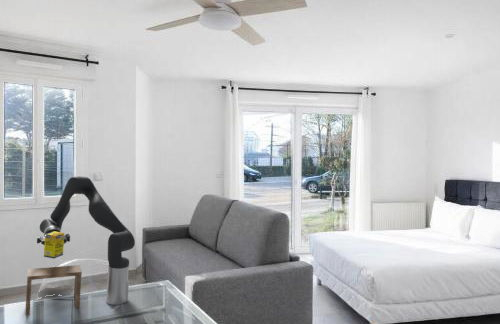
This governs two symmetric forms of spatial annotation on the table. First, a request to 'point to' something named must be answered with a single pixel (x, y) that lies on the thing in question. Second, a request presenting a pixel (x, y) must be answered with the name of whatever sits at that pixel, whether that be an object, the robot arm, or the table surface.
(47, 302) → the table surface
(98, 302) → the table surface
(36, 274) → the walnut shelf
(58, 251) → the supplement box
